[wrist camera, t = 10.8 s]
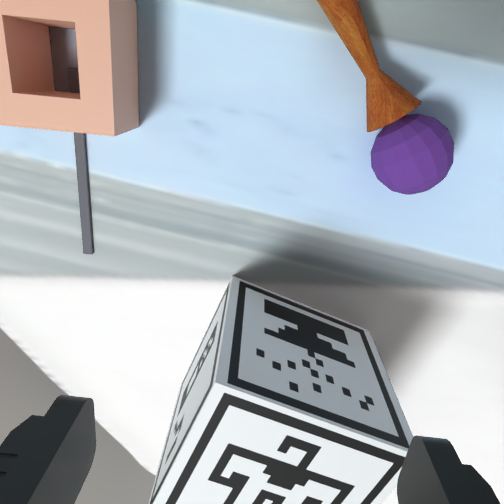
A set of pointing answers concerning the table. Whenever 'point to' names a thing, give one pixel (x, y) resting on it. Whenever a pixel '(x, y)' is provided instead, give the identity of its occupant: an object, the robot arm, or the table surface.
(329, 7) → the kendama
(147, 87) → the table surface
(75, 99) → the bead terracotta
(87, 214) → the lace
